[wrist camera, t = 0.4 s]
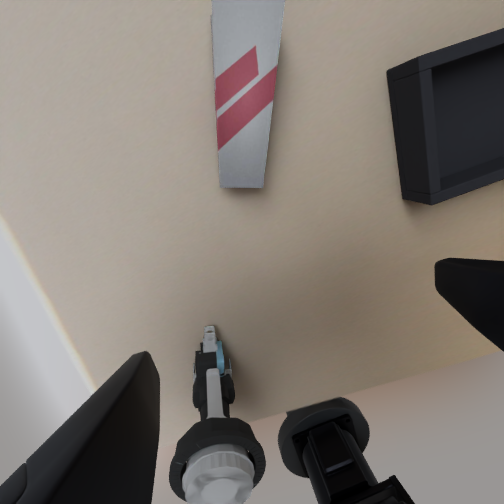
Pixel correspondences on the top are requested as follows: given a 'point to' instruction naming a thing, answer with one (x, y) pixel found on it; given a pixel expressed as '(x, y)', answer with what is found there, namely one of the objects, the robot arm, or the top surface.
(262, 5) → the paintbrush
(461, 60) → the black hollow square tray
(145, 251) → the top surface
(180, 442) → the push button
